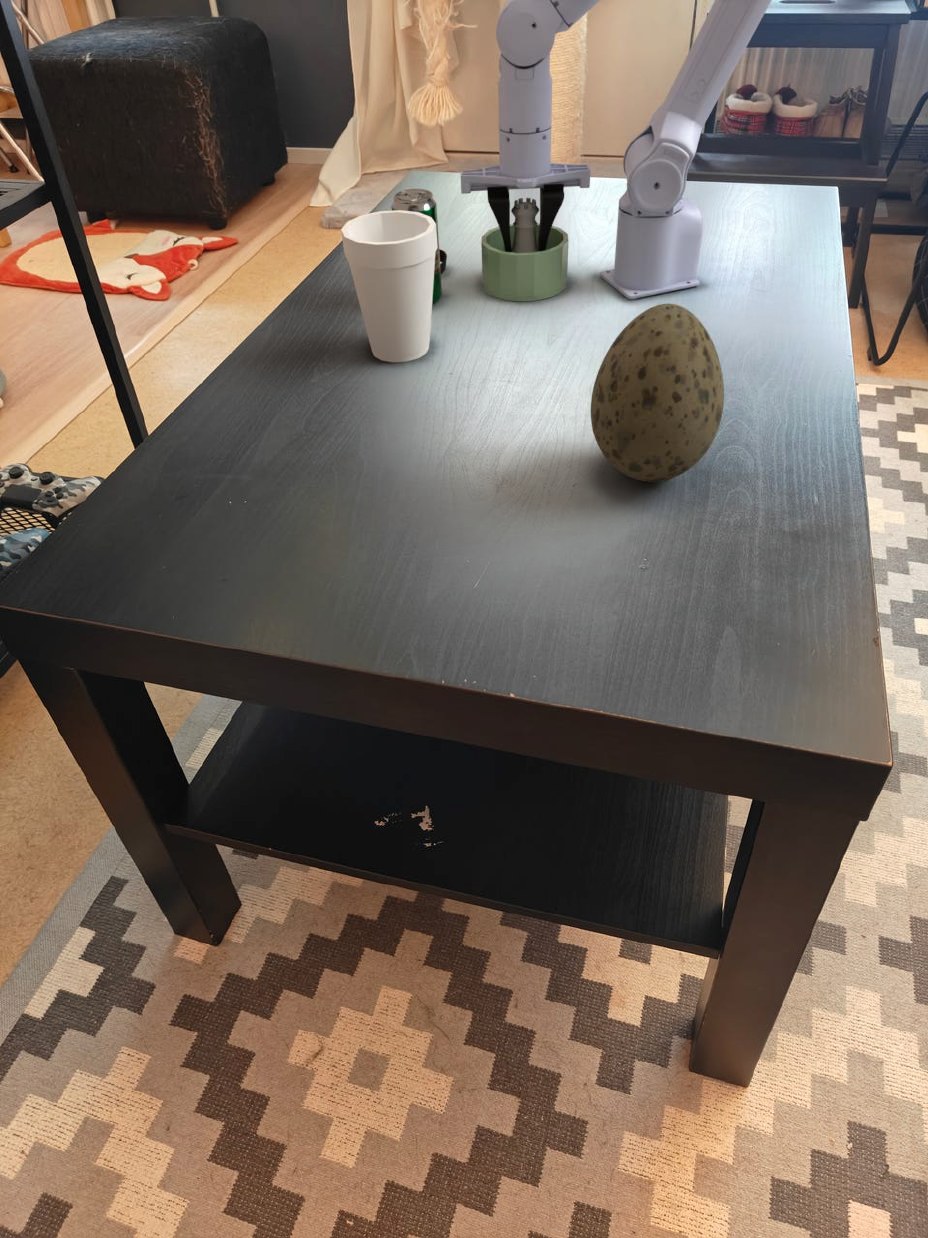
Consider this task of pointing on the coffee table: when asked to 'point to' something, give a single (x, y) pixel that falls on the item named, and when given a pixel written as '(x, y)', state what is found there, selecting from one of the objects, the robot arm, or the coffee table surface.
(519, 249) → the rook chess piece
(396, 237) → the foam cup
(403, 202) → the soda can
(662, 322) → the decorative egg
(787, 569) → the coffee table surface
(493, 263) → the green cup
